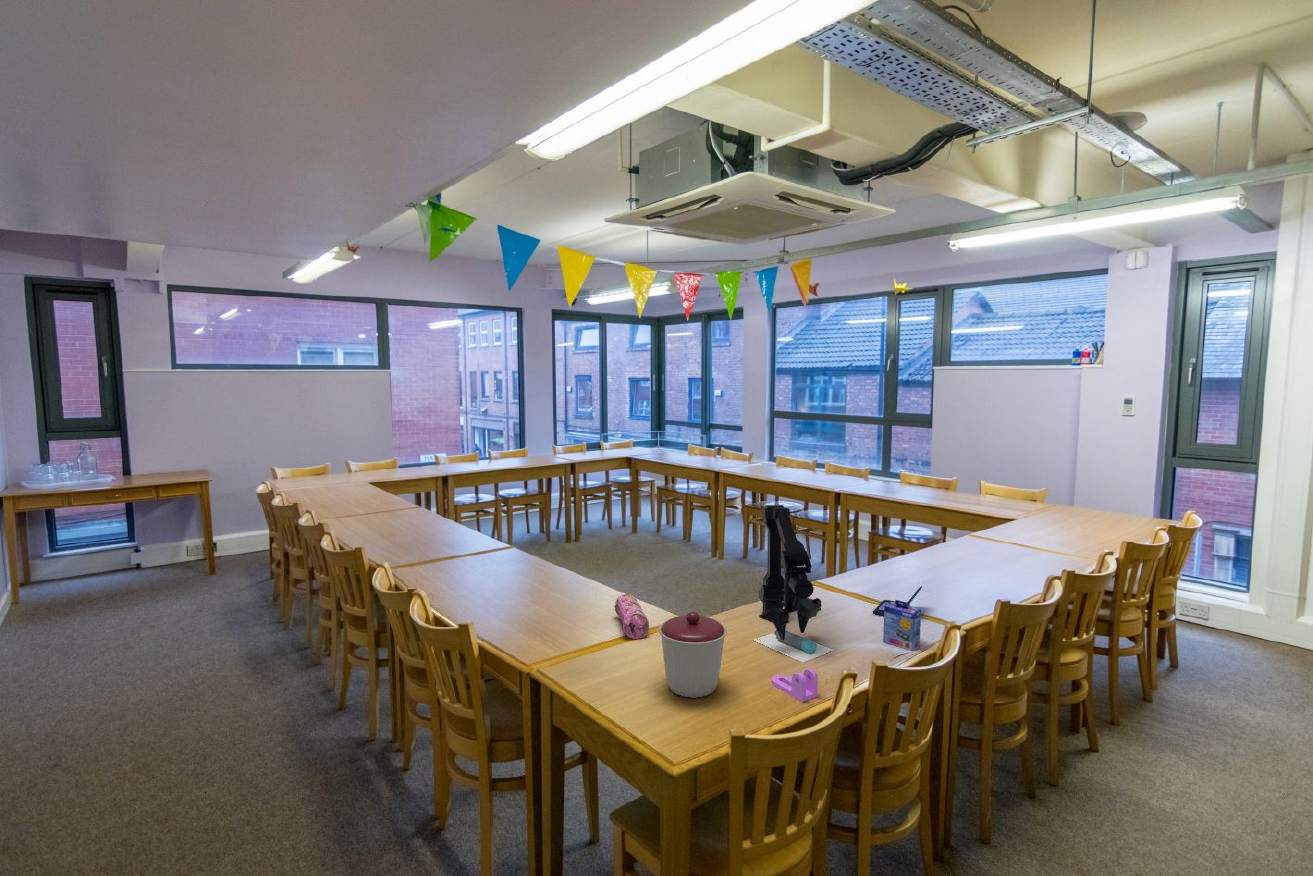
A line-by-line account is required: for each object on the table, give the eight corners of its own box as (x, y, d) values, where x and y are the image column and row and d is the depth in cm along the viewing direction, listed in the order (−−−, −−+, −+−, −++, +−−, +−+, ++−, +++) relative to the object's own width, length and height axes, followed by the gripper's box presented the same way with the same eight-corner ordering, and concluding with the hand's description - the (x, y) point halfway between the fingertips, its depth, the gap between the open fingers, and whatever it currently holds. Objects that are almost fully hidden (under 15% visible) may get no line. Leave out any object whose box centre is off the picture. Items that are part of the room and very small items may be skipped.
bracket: (817, 697, 166) (818, 671, 165) (801, 703, 163) (802, 677, 162) (782, 677, 177) (782, 653, 176) (767, 682, 174) (767, 658, 173)
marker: (773, 640, 203) (770, 632, 201) (780, 633, 204) (777, 624, 203) (810, 656, 191) (807, 647, 190) (817, 648, 193) (814, 639, 192)
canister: (676, 711, 158) (676, 629, 156) (647, 680, 175) (648, 605, 173) (738, 697, 165) (740, 619, 163) (706, 668, 182) (707, 597, 180)
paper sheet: (753, 641, 201) (753, 640, 201) (782, 630, 210) (782, 629, 210) (803, 663, 186) (803, 662, 186) (832, 650, 194) (833, 649, 194)
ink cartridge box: (881, 642, 201) (883, 597, 199) (889, 637, 205) (891, 593, 203) (912, 652, 194) (914, 605, 192) (920, 646, 198) (922, 601, 196)
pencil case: (612, 618, 221) (612, 593, 220) (638, 616, 223) (638, 591, 222) (623, 642, 200) (623, 615, 199) (652, 640, 202) (652, 613, 202)
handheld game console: (884, 603, 238) (884, 578, 237) (921, 610, 230) (922, 585, 229) (871, 615, 225) (872, 589, 224) (911, 623, 217) (912, 597, 216)
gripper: (794, 601, 184) (793, 653, 186) (834, 588, 196) (832, 637, 197) (765, 591, 193) (764, 640, 194) (805, 579, 204) (804, 626, 206)
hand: (792, 636), depth 198 cm, fingers open, 9 cm apart
